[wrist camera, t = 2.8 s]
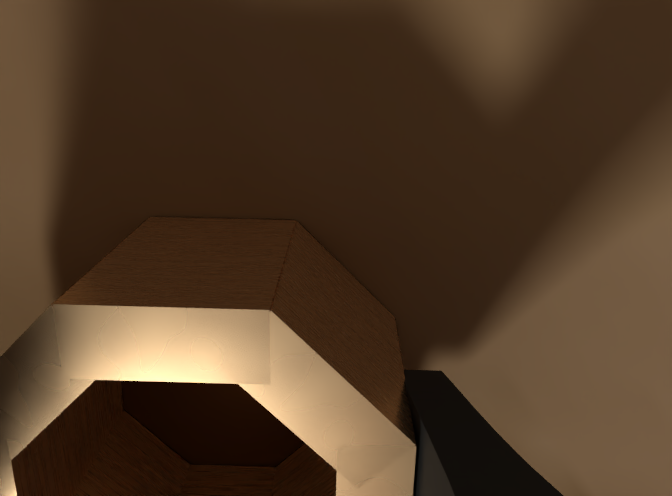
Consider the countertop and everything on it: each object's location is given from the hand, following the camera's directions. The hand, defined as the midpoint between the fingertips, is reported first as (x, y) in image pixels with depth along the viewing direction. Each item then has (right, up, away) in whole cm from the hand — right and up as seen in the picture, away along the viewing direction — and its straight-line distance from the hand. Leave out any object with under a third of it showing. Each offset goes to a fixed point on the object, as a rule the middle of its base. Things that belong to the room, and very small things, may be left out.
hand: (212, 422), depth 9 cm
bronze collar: (0, 0, +1) cm, 1 cm away
